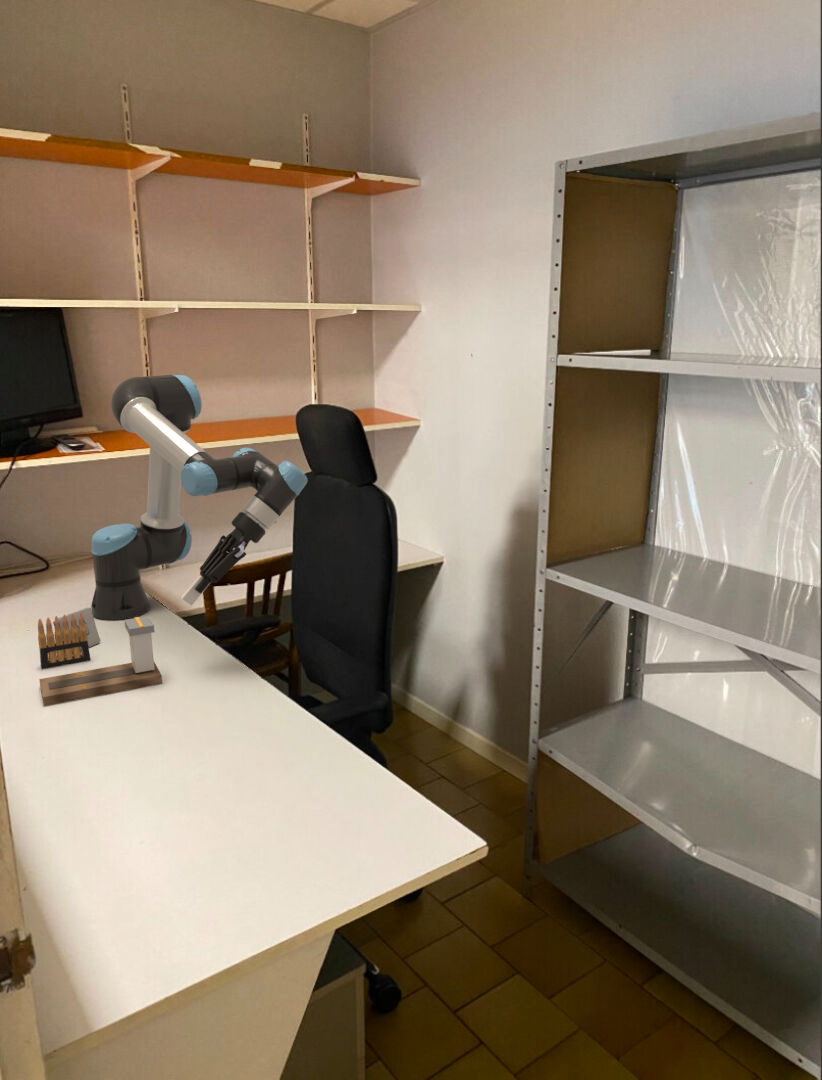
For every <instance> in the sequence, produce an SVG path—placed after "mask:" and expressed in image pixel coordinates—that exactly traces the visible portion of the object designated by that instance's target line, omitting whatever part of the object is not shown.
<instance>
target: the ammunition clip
mask: <svg viewBox="0 0 822 1080" xmlns="http://www.w3.org/2000/svg"><path fill="white" fill-rule="evenodd" d="M65 615H66V614H63V616H62V617H63V637H62V632H61V628H60V623H59V619H58V618H59V617H58V615H56V616H55V618H54V621H53V622H54V624H52V622H51V619H50V617H47V618H46V623H45V625H46V626H45V628H44V624H43V621H42V619H41V618H39V619H38V621H37V632H38V633H37V635H38V636H37V640H38V649H39V658H40V659H39V660H40V668H41V670H46V669H52V668H56V667H61V666H63V667H64V666H67V665H73V664H78V663H83V662H90V661H91V660H92V659H91V653H90V647H88V639H87V630H86V627H85V621H84V617H83V614H82V613H81V612H80V615H79V633H78V628H77V624H76V619H75V616H74V614H72V615H71V635H70V630H69V626H68V621H67V618H66V616H65ZM54 626H55V627H54ZM53 627H54V630H53ZM45 629H46V630H45ZM45 631H46V634H45ZM79 635H80V640H79ZM71 638H72V641H71ZM80 647H81V650H80ZM72 648H73V652H72ZM64 651H65V652H64Z"/></svg>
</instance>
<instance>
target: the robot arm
mask: <svg viewBox="0 0 822 1080" xmlns="http://www.w3.org/2000/svg"><path fill="white" fill-rule="evenodd" d="M200 393H201V392H200V390H199V389H198V387H197V384H196V383H195V382H194V381H193V379H191V378H190V377H189V376H187V375H184V374H183V375H182V374H173V373H172V374H166V375H164V374H163V375H152V376H151V375H150V376H148V375H147V376H133V377H129V378H127V379H125V380H123V381H122V382H120V383H119V384H118V385H117V386H116V388H115V389H114V391H113V393H112V395H111V400H110V408H111V413H112V415H113V417H114V419H115V421H116V422H117V423H118V425H119V426H121V427H122V428H123V429H124V430H125V431H127V432H128V433H131V434H132V433H133V434H135V435H137V436H138V437H139V438H141V440H143V442H145V443H146V444H147V445H149V455H148V456H149V458H148V459H149V461H148V479H147V481H148V482H147V497H146V499H147V500H146V501H147V502H146V512H145V513H143V514H142V515H141V516H140V524H139V526H138V527H136V525H134V524H131V523H119V524H117V523H116V524H113V525H112V524H111V525H109V526H105V527H102V528H100V529H99V530H97V531H96V532H95V533H93V535H92V537H91V551H90V552H91V555H92V561H93V572H94V579H95V580H94V583H95V589H94V592H93V597H92V601H91V606H90V609H91V612H92V615H93V618H96V619H99V620H105V621H117V620H118V621H119V620H128V619H133V618H135V617H139V616H142V615H144V614H145V613H147V612H148V611H149V610H150V607H151V606H150V605H151V604H150V599H149V597H148V594H147V593H146V590H145V588H144V585H143V583H142V581H141V570H145V569H150V568H155V567H159V566H162V565H167V564H168V565H169V564H174V563H175V562H176V563H177V562H178V561H181V560H184V559H185V558H186V557H187V555H188V554H189V553H190V551H191V547H192V542H193V538H192V534H191V529H190V526H189V525H188V523H187V522H186V521H185V518H184V517H183V516H182V515H181V514H180V504H181V489H182V487H183V488H184V491H185V493H186V494H188V495H190V496H192V497H203V496H205V497H207V496H211V495H215V494H219V493H225V492H230V491H235V490H242V489H247V488H252V489H254V490H255V491H256V493H255V494H254V495H253V496H252V497H250V499H249V500H248V501H247V503H246V504H245V505H244V506H243V507H242V509H243V511H239V512H238V514H237V515H236V516H235V517H234V518H233V519H232V520H231V525H232V526H233V527H234V530H232V532H231V531H230V533H229V534H227V535H224V534H223V535H222V536H221V537H220V538H219V540H218V542H217V544H216V545H215V547H214V548H213V549H212V551H211V553H209V555H208V556H207V558H206V559H205V561H204V562H203V563H202V565H201V566H200V568H199V570H200V572H199V574H198V576H197V577H196V578H195V579H194V580H193V582H192V583H191V584H190V586H189V587H188V588H187V589H186V590H185V592H184V593H183V594H182V595H181V596H180V598H181V599H182V600H183V601H184V602H185V603H187V604H189V605H190V606H191V607H192V606H193V605H194V604H195V602H196V601H197V600H198V599H199V597H200V596H202V594H203V593H204V592H205V591H206V589H207V588H208V587H209V586H210V584H213V583H214V584H217V583H218V582H220V580H221V579H222V578H224V576H225V575H226V574H227V573H229V571H230V570H231V569H232V568H233V567H234V566H235V565H236V564H237V563H238V562H239V561H240V560H242V559H243V558H244V557H246V555H247V553H246V552H245V550H246V548H247V546H248V545H249V543H250V541H252V542H253V543H254V544H258V543H259V542H260V540H261V539H262V538H263V537H264V536H265V535H266V529H267V530H269V529H270V528H271V527H272V526H274V524H276V523H278V519H279V518H280V517H281V515H282V514H283V512H285V510H286V509H287V508H288V507H289V506H290V505H291V504H292V502H293V501H294V500H295V499H296V498H297V497H298V496H299V495H300V493H301V492H302V491H303V489H304V488H305V486H306V485H307V483H308V478H307V477H308V476H307V475H306V474H305V473H304V472H303V471H302V470H300V468H298V466H297V465H295V464H293V463H292V462H290V461H288V460H283V461H282V462H281V463H280V464H279V465H278V464H275V463H274V461H271V460H270V459H269V458H268V457H266V456H264V455H263V454H262V453H261V452H260V451H257V450H255V449H253V448H251V447H242V448H240V449H239V450H238V451H235V452H234V454H233V455H232V456H231V457H224V458H214V457H213V456H212V455H210V454H209V453H208V452H206V451H205V450H204V449H203V447H201V446H200V445H198V444H197V443H196V442H195V441H194V440H193V439H192V438H191V437H189V436H188V435H187V434H186V433H188V432H189V431H190V430H191V427H192V426H191V425H192V420H195V419H197V418H198V417H199V415H201V412H202V404H203V403H202V397H201V394H200Z"/></svg>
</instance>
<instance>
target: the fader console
mask: <svg viewBox="0 0 822 1080" xmlns="http://www.w3.org/2000/svg"><path fill="white" fill-rule="evenodd" d="M161 684H163V677H162V673H161V671H160V669H159V667H158V666H157V664H156V662H155V661H154V670H150V671H144V672H139V673H136V672H135V670H134V668H133V666H132V662H128V663H122V664H117V665H111V666H106V667H100V668H95V669H89V670H83V671H77V672H72V673H65V674H61V675H55V676H50V677H49V676H48V677H44V678H39V687H40V693H41V697H42V702H43V706H44V707H46V706H50V705H51V706H52V705H56V704H62V703H67V702H72V701H78V700H83V699H89V698H92V697H93V698H94V697H98V696H104V695H108V694H115V693H119V692H125V691H130V690H134V689H135V690H136V689H140V688H144V687H145V688H146V687H151V686H155V685H161Z"/></svg>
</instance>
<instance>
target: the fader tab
mask: <svg viewBox="0 0 822 1080" xmlns="http://www.w3.org/2000/svg"><path fill="white" fill-rule="evenodd" d="M123 620H124V628H125V629H126V632H127V633H128V638H129V646H130V650H129V651H130V660H131V663H132V666H133V668H134V670H135V672H136V673H139V672H144V671H150V670H154V662H155V659H154V649H153V647H154V646H153V637H152V634H153V633H155V624H154V623H153V621H152V620H151V618H150V616H141V617H139V616H136V617H133V618H128V619H123Z"/></svg>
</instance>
